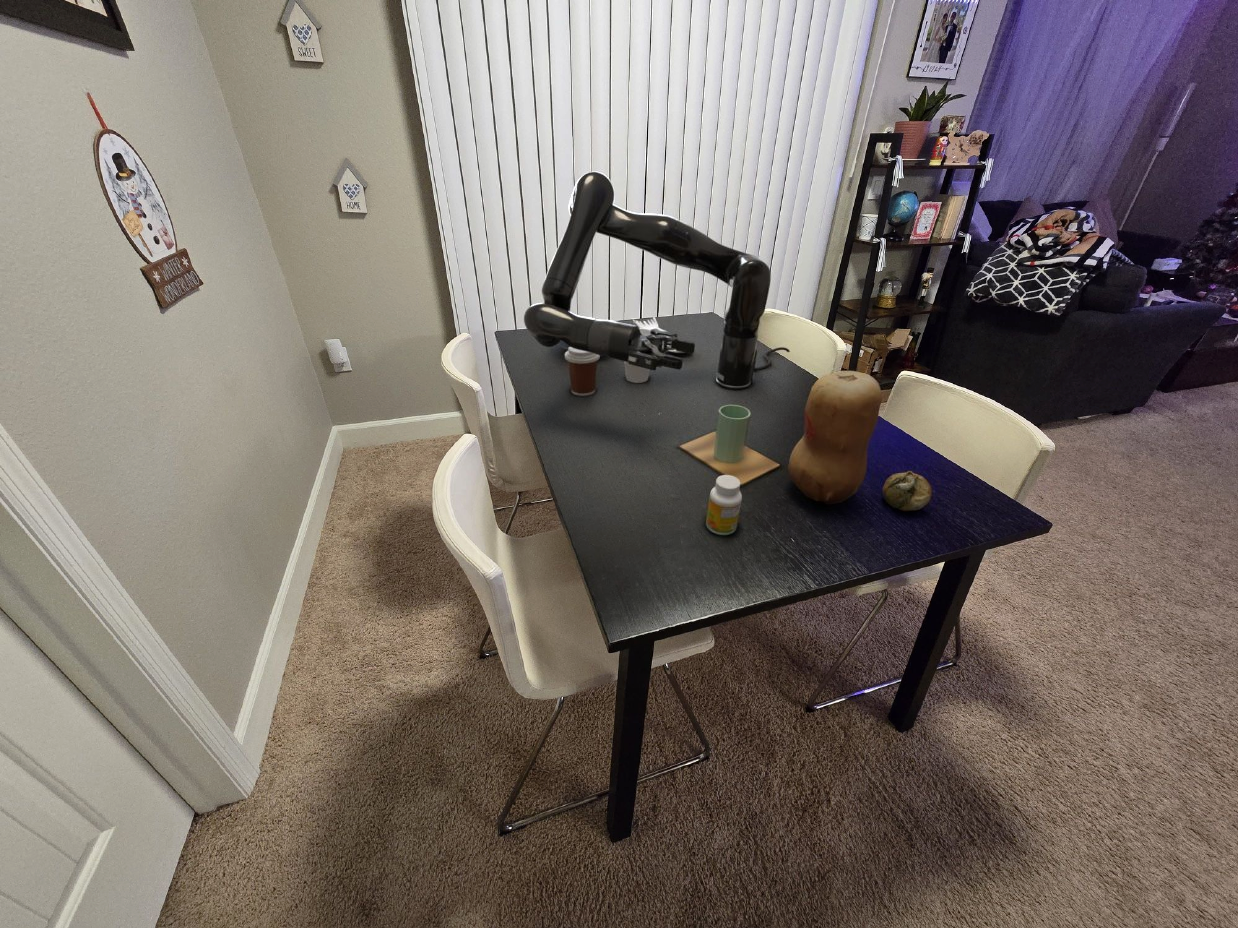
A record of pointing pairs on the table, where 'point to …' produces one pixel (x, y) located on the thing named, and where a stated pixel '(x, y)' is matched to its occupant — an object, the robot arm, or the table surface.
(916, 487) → the onion
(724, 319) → the robot arm
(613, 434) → the table surface
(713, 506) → the supplement bottle
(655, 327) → the spoon
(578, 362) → the coffee cup
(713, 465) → the placemat
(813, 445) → the butternut squash
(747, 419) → the cup
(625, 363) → the foam cup
